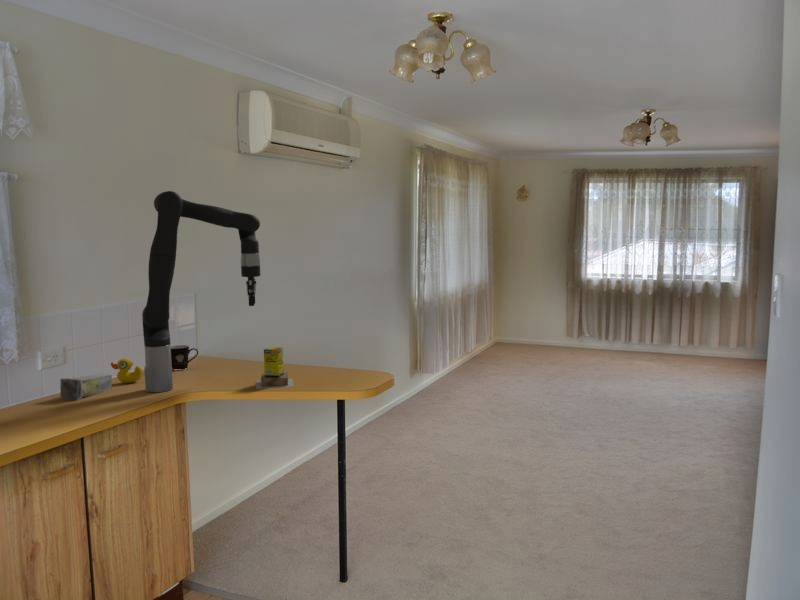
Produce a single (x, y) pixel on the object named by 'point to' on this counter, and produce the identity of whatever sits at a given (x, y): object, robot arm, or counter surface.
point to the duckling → (124, 373)
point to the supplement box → (273, 362)
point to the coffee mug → (180, 356)
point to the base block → (274, 380)
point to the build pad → (258, 386)
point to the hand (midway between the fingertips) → (252, 304)
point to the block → (84, 386)
